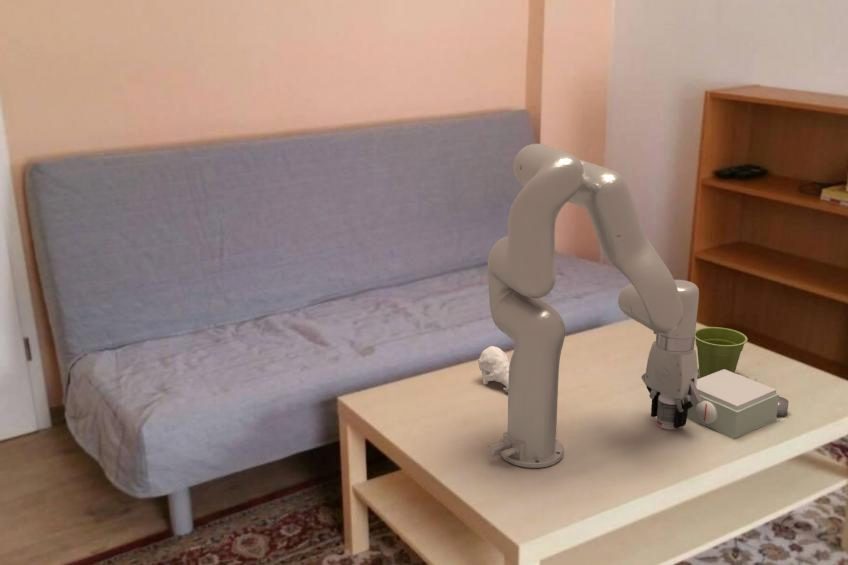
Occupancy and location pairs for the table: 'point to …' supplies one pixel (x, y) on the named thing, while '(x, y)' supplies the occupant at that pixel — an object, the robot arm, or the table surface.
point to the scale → (733, 403)
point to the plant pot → (718, 349)
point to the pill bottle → (666, 411)
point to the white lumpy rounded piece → (494, 366)
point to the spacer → (782, 407)
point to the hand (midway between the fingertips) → (668, 420)
